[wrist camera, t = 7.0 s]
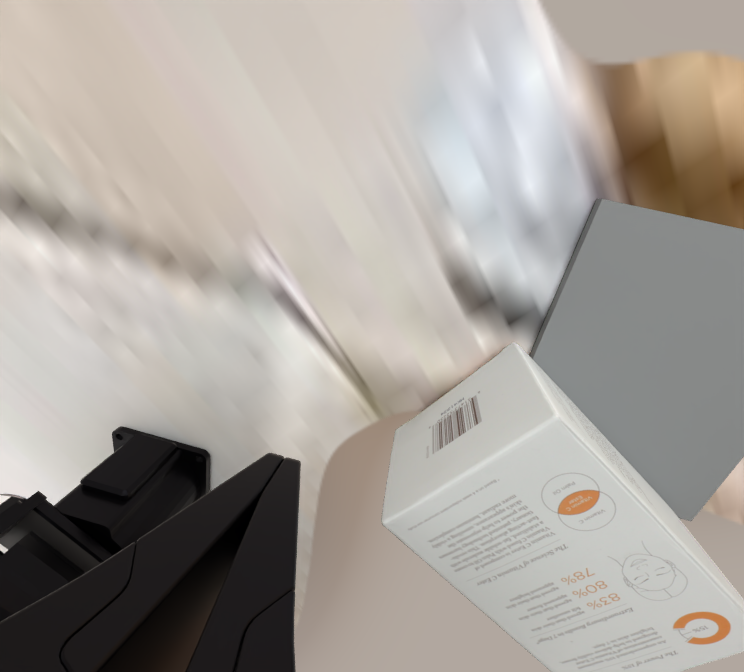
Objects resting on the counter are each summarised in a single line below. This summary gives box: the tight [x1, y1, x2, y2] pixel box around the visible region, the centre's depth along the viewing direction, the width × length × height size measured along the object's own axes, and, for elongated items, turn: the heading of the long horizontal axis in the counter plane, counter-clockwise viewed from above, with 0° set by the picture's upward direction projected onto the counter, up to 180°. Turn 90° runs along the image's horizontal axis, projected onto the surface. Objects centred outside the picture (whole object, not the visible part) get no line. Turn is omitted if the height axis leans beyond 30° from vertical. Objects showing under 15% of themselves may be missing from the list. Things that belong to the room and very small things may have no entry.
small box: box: [381, 342, 744, 672], centre depth 16 cm, size 8×6×13 cm
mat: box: [530, 199, 744, 521], centre depth 17 cm, size 14×11×1 cm
